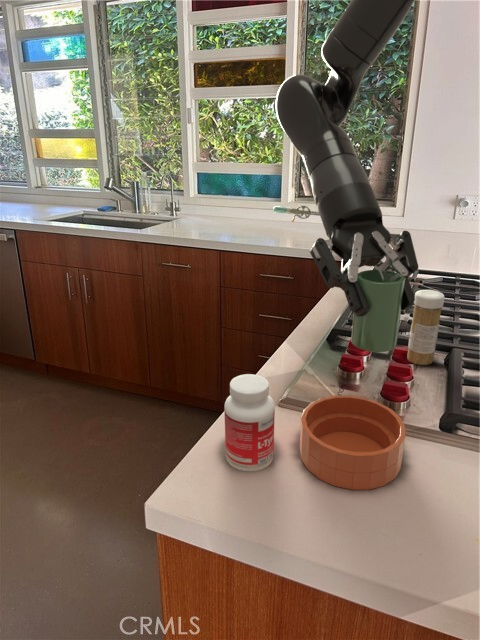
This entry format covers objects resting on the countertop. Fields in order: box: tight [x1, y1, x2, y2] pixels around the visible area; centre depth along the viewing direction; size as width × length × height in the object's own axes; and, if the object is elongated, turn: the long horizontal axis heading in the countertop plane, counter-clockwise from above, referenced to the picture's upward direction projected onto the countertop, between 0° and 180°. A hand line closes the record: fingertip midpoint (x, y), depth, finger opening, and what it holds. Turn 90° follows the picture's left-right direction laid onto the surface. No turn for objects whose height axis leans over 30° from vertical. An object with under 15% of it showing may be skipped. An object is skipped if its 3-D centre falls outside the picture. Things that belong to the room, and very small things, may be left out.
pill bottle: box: [223, 373, 276, 472], centre depth 57 cm, size 6×6×11 cm
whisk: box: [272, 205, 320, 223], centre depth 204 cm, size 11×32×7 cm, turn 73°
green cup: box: [350, 269, 405, 353], centre depth 58 cm, size 6×6×9 cm
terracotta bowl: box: [299, 394, 406, 491], centre depth 58 cm, size 12×12×6 cm
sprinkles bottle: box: [406, 289, 445, 366], centre depth 79 cm, size 5×5×14 cm
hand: (385, 310), depth 57 cm, fingers closed on green cup, 5 cm apart
